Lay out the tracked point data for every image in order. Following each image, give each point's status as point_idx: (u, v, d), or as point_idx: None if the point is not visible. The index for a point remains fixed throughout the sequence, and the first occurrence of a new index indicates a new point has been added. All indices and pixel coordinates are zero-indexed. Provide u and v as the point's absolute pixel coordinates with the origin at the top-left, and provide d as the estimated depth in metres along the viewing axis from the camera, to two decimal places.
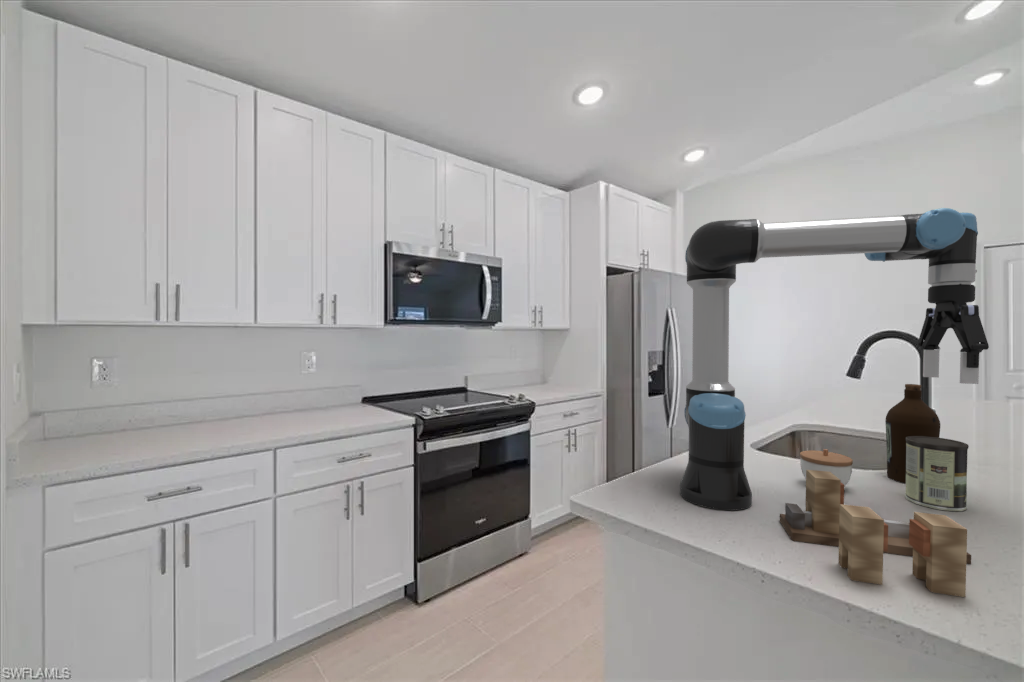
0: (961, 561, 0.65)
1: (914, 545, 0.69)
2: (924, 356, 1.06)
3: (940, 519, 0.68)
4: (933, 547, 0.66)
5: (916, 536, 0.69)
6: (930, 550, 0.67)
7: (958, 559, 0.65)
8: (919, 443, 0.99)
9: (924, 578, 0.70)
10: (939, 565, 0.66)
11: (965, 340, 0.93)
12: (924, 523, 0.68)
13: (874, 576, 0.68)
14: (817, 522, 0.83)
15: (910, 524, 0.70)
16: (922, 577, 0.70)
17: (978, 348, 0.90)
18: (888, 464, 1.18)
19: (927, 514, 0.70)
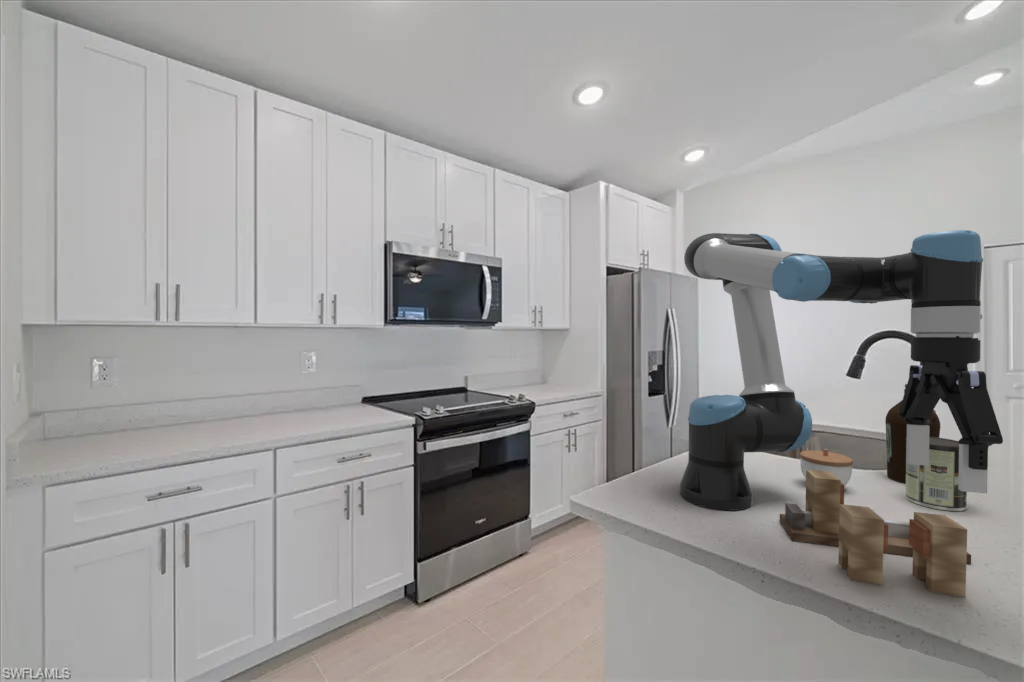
0: (961, 561, 0.65)
1: (914, 545, 0.69)
2: (908, 433, 0.74)
3: (940, 519, 0.68)
4: (932, 547, 0.66)
5: (916, 536, 0.69)
6: (930, 550, 0.67)
7: (958, 559, 0.65)
8: None
9: (924, 578, 0.70)
10: (939, 565, 0.66)
11: (966, 425, 0.61)
12: (924, 523, 0.68)
13: (874, 576, 0.68)
14: (817, 522, 0.83)
15: (910, 524, 0.70)
16: (922, 577, 0.70)
17: (986, 442, 0.58)
18: (888, 464, 1.18)
19: (927, 514, 0.70)
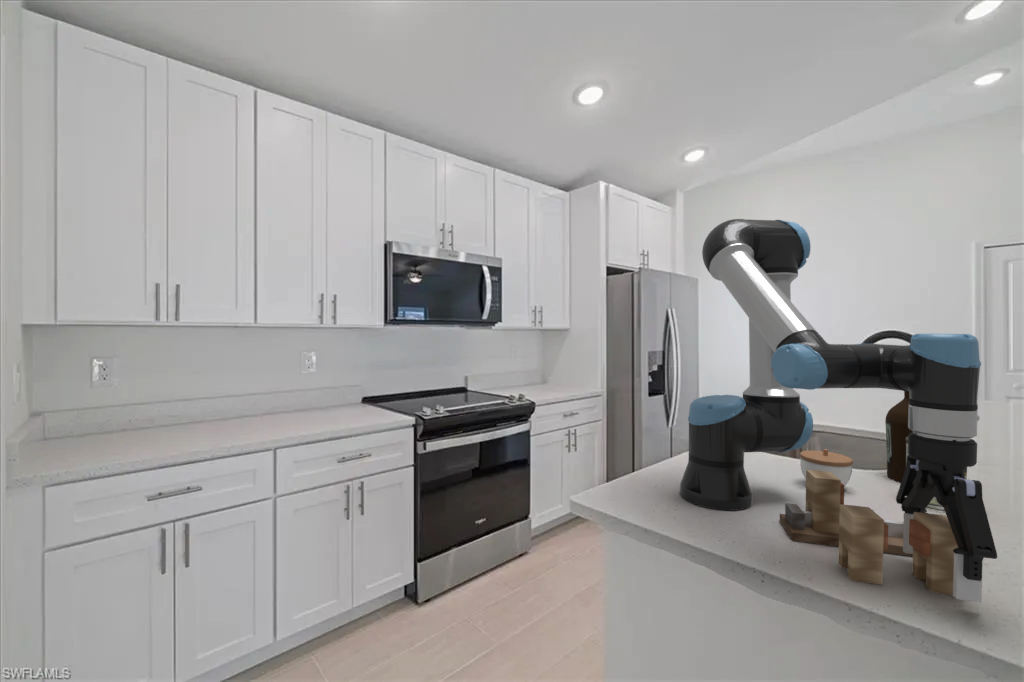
0: None
1: (914, 545, 0.69)
2: (905, 522, 0.74)
3: (940, 519, 0.68)
4: (932, 547, 0.66)
5: (916, 536, 0.69)
6: (930, 550, 0.67)
7: None
8: None
9: (924, 578, 0.70)
10: (939, 565, 0.66)
11: (961, 534, 0.62)
12: (924, 523, 0.68)
13: (874, 576, 0.68)
14: (817, 522, 0.83)
15: (910, 524, 0.70)
16: (922, 577, 0.70)
17: (981, 556, 0.59)
18: (888, 464, 1.18)
19: (927, 514, 0.70)
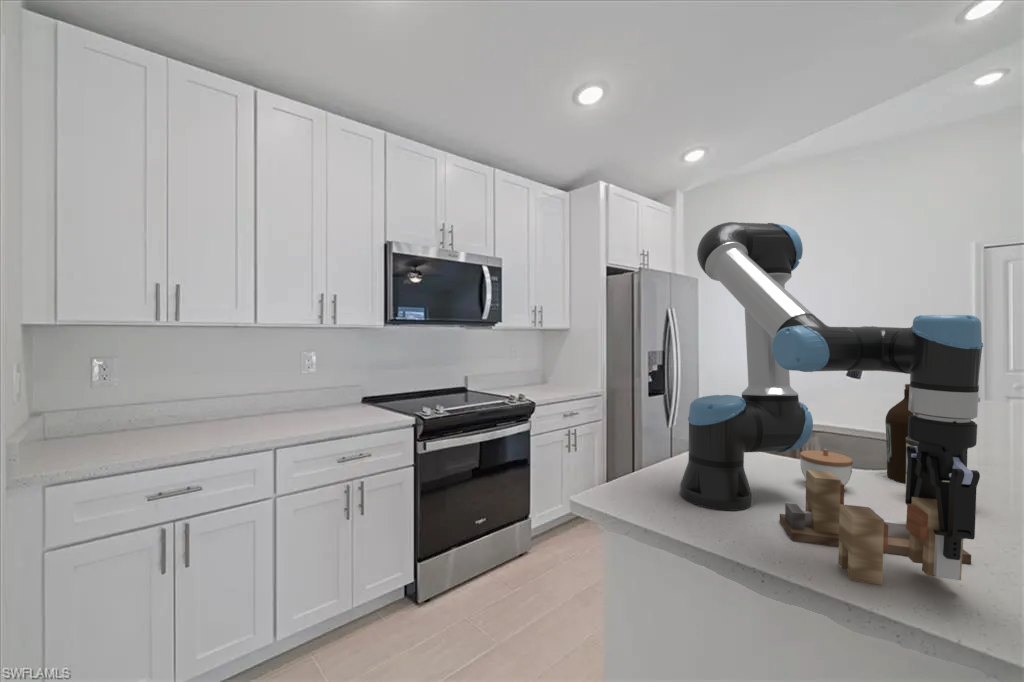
0: None
1: (911, 529, 0.70)
2: None
3: None
4: (930, 531, 0.66)
5: (913, 520, 0.69)
6: (927, 534, 0.67)
7: None
8: None
9: (920, 562, 0.70)
10: None
11: (946, 518, 0.65)
12: (922, 507, 0.68)
13: (874, 576, 0.68)
14: (817, 522, 0.83)
15: (908, 509, 0.71)
16: (918, 561, 0.70)
17: (958, 537, 0.63)
18: (888, 464, 1.18)
19: (925, 499, 0.70)
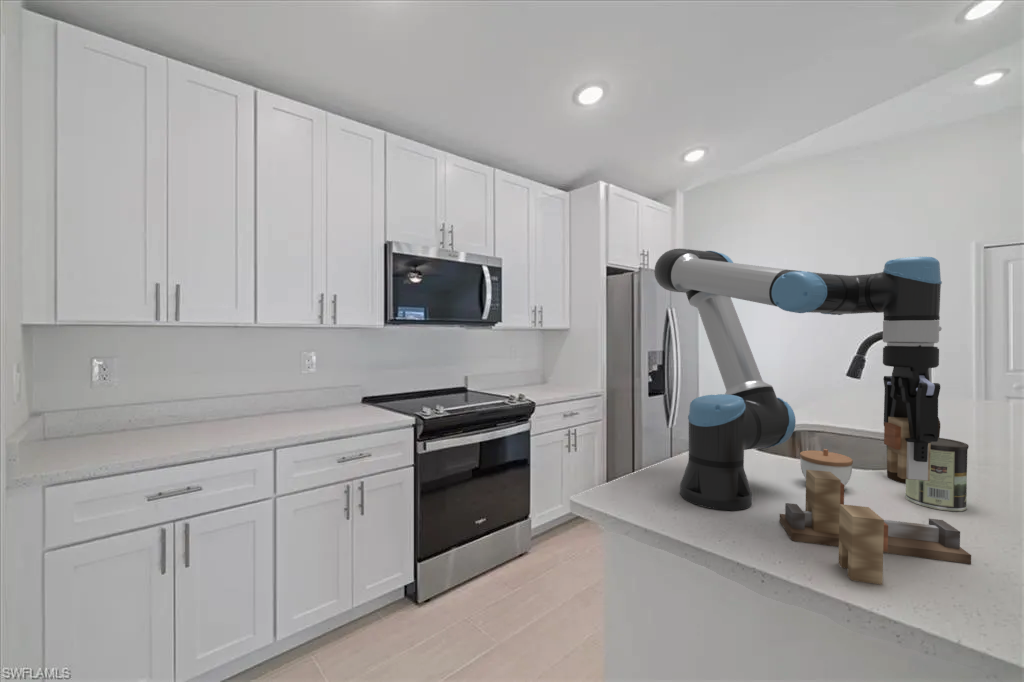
0: None
1: (888, 443, 0.82)
2: None
3: None
4: (902, 440, 0.78)
5: (889, 434, 0.81)
6: (900, 444, 0.79)
7: None
8: None
9: (896, 471, 0.82)
10: None
11: (914, 427, 0.77)
12: (896, 423, 0.80)
13: (874, 576, 0.68)
14: (817, 522, 0.83)
15: (885, 426, 0.83)
16: (895, 470, 0.82)
17: (925, 440, 0.75)
18: None
19: (899, 417, 0.82)
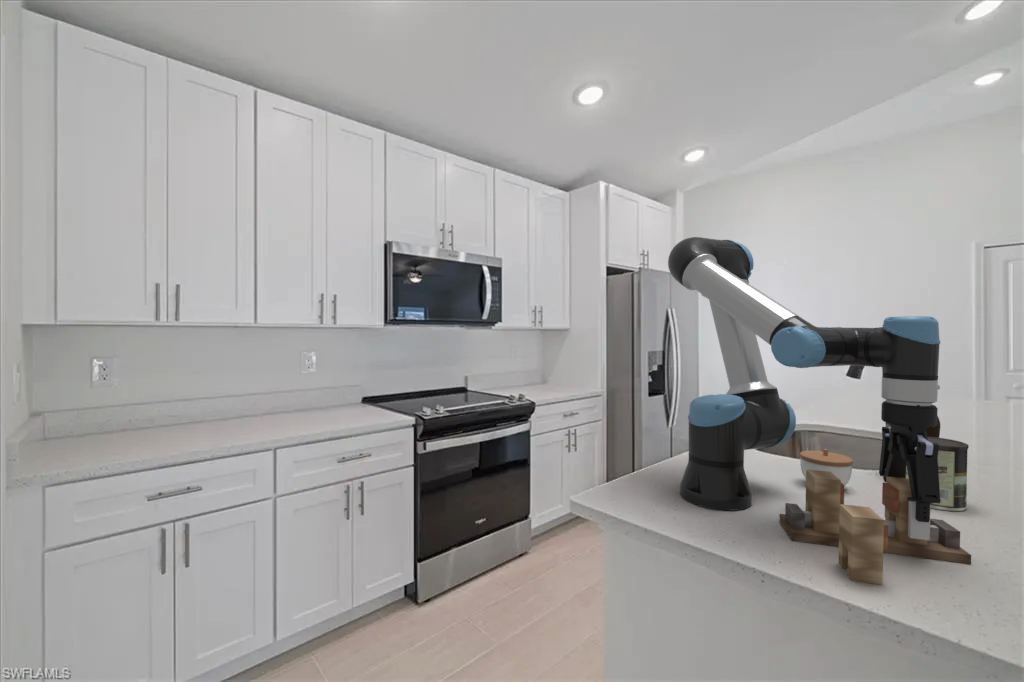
0: None
1: (886, 504, 0.82)
2: None
3: (908, 481, 0.81)
4: (900, 504, 0.79)
5: (887, 496, 0.81)
6: (898, 507, 0.79)
7: None
8: None
9: None
10: (906, 519, 0.78)
11: (916, 486, 0.76)
12: (894, 485, 0.81)
13: (874, 576, 0.68)
14: (817, 522, 0.83)
15: (883, 486, 0.83)
16: None
17: (927, 501, 0.74)
18: None
19: (897, 478, 0.83)
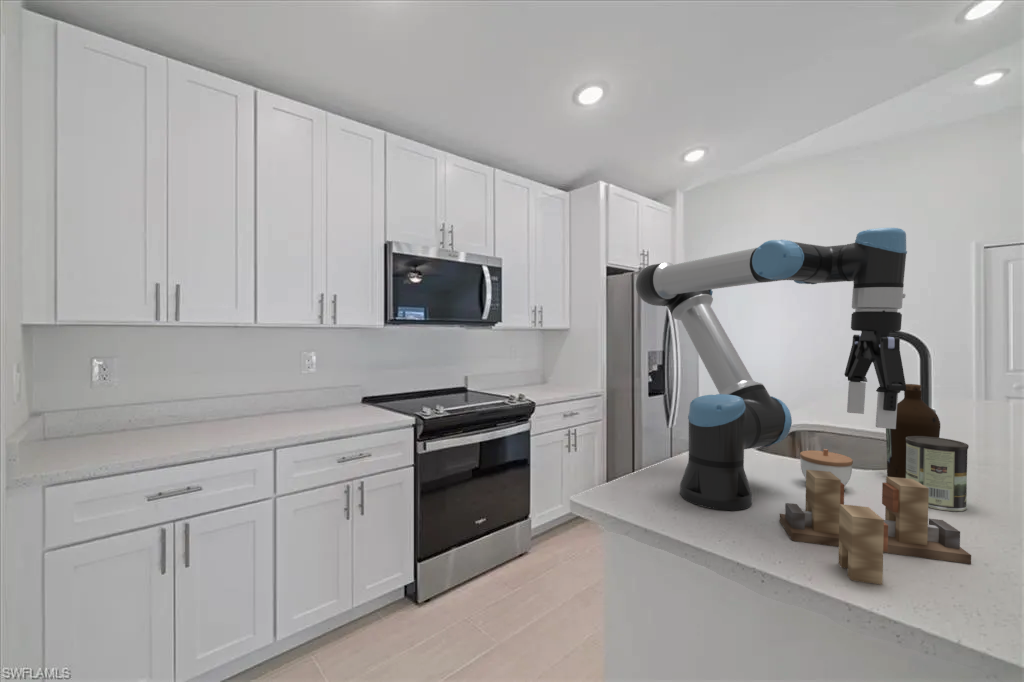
0: (924, 515, 0.78)
1: (886, 504, 0.82)
2: (849, 388, 0.93)
3: (907, 481, 0.81)
4: (900, 504, 0.79)
5: (887, 496, 0.81)
6: (898, 507, 0.79)
7: (921, 513, 0.78)
8: (919, 443, 0.99)
9: None
10: (905, 519, 0.78)
11: (883, 378, 0.80)
12: (894, 484, 0.81)
13: (874, 576, 0.68)
14: (817, 522, 0.83)
15: (883, 486, 0.83)
16: None
17: (894, 389, 0.77)
18: (888, 464, 1.18)
19: (897, 478, 0.83)
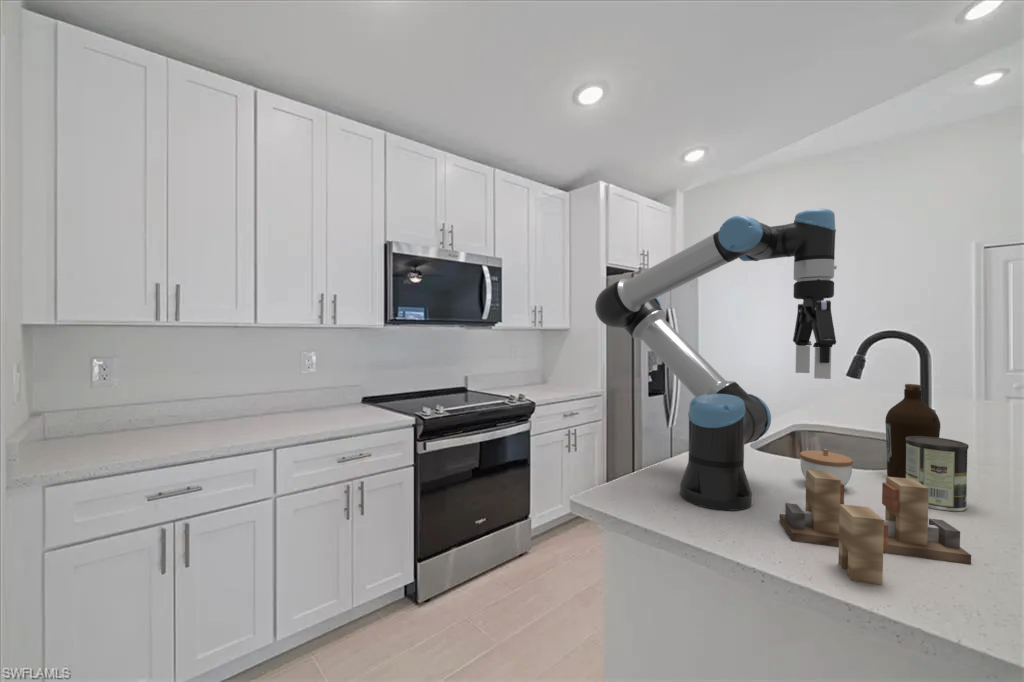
0: (924, 515, 0.78)
1: (886, 504, 0.82)
2: (796, 351, 1.07)
3: (907, 481, 0.81)
4: (900, 504, 0.79)
5: (887, 496, 0.81)
6: (898, 507, 0.79)
7: (921, 513, 0.78)
8: (919, 443, 0.99)
9: None
10: (905, 519, 0.78)
11: (818, 335, 0.94)
12: (894, 484, 0.81)
13: (874, 576, 0.68)
14: (817, 522, 0.83)
15: (883, 486, 0.83)
16: None
17: (826, 343, 0.91)
18: (888, 464, 1.18)
19: (897, 478, 0.83)
